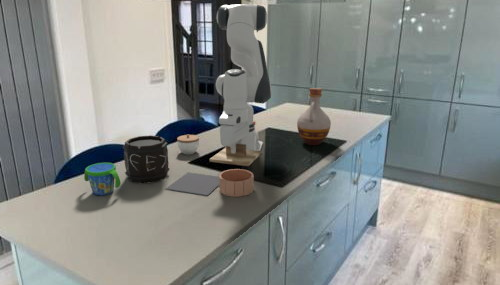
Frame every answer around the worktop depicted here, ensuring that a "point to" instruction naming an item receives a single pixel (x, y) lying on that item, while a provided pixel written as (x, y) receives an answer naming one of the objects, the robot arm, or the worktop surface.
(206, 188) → the mat
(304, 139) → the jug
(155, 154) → the wooden barrel
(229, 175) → the bowl
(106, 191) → the snack cup
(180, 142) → the lidded jar
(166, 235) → the worktop surface
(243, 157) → the lid
